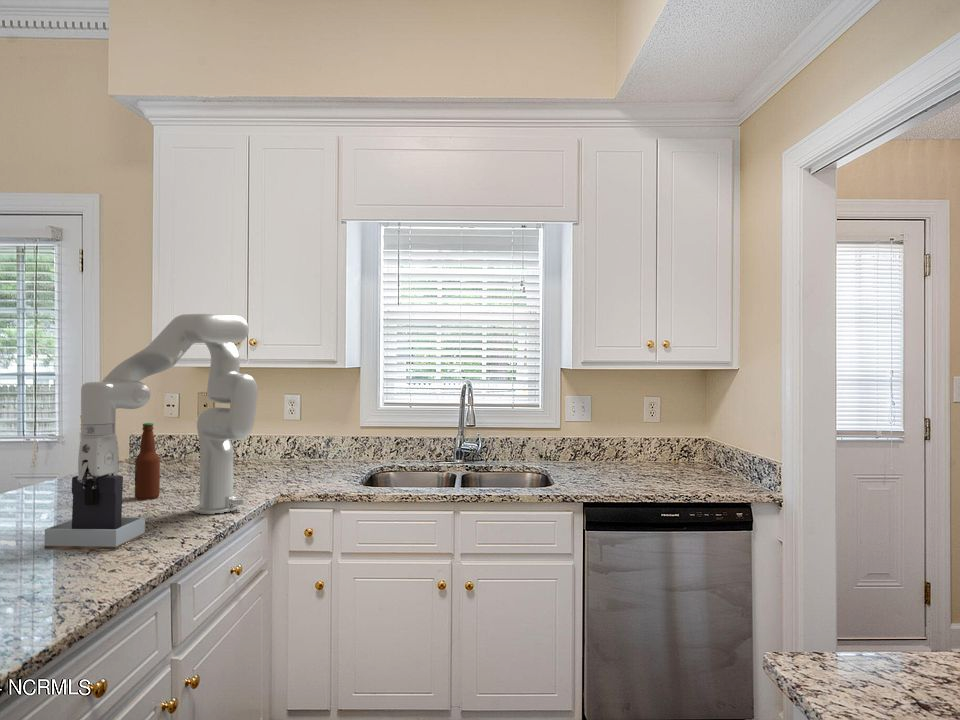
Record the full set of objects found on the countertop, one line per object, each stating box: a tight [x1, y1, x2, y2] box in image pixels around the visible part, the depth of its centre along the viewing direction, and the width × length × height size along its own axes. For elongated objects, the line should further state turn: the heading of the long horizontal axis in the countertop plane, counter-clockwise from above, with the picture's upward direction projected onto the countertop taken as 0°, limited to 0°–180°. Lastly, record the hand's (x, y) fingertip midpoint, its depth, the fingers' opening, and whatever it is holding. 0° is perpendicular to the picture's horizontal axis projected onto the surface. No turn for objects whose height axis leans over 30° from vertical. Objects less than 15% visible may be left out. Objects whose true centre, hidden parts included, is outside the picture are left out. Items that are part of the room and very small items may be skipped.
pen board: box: [44, 532, 146, 550], centre depth 157 cm, size 18×13×1 cm
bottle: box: [134, 422, 161, 501], centre depth 207 cm, size 7×7×25 cm
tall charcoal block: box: [71, 474, 124, 530], centre depth 157 cm, size 11×4×15 cm, turn 89°
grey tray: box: [44, 516, 146, 547], centre depth 157 cm, size 18×13×4 cm
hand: (97, 501), depth 157 cm, fingers closed on tall charcoal block, 4 cm apart
